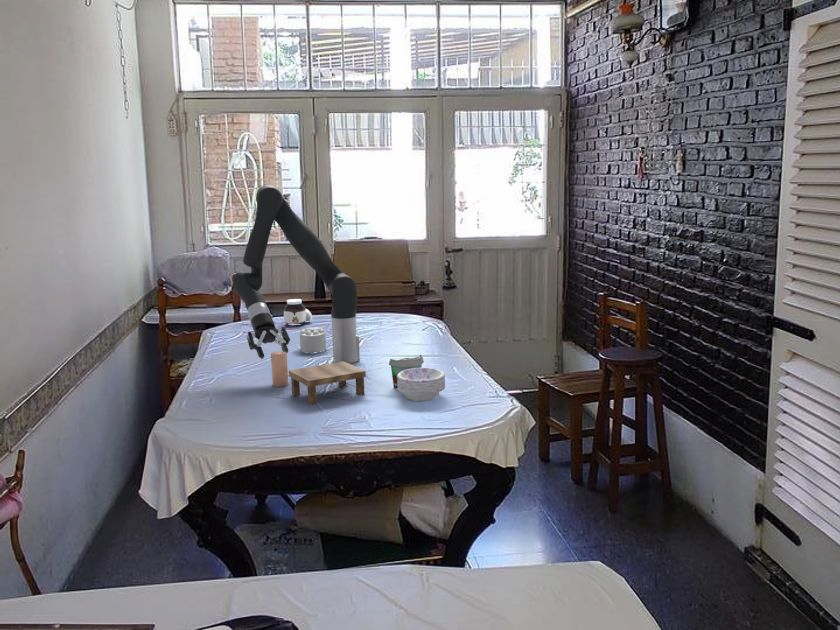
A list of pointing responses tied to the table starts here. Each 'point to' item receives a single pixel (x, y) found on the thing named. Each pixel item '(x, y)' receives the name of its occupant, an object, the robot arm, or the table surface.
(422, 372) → the paper bowls
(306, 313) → the spread jar
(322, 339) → the lumpy-topped squat cylinder
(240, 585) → the table surface
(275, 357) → the peach rounded cylinder
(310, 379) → the footstool
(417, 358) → the food container
